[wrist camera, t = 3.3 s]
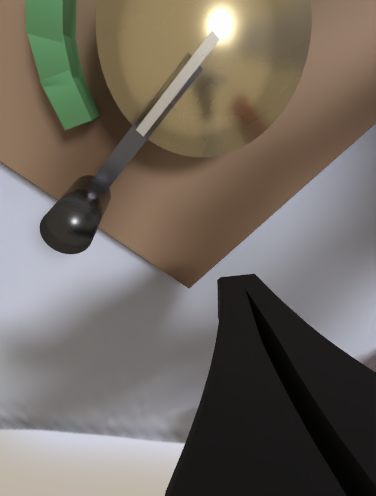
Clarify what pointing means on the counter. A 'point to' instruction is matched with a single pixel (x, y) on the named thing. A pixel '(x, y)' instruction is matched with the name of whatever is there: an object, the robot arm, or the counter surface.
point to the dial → (185, 87)
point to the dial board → (161, 160)
